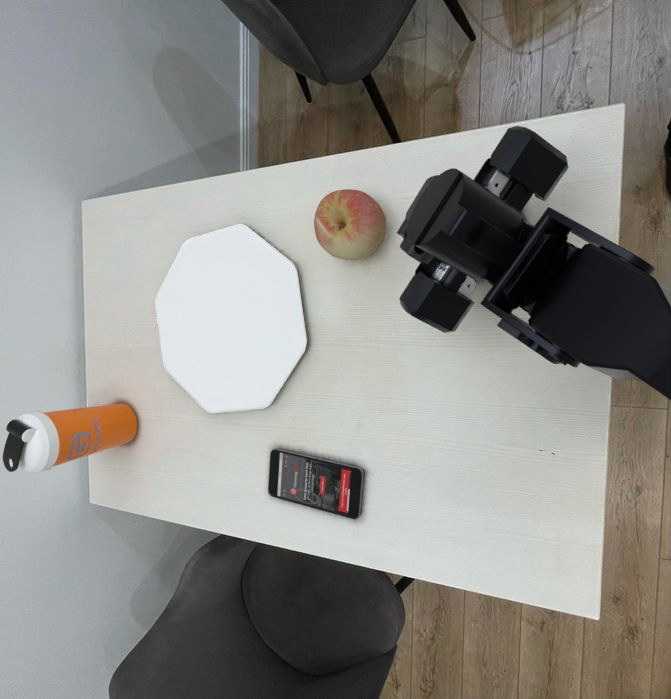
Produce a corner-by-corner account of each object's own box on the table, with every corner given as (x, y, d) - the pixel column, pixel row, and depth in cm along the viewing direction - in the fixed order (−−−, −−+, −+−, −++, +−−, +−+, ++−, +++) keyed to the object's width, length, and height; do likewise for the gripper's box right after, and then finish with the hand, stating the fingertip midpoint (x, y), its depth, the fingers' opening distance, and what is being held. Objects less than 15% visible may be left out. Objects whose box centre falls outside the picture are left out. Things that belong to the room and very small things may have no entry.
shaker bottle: (104, 441, 97) (-9, 469, 80) (107, 393, 96) (-7, 410, 79) (140, 453, 93) (29, 485, 76) (144, 403, 92) (32, 424, 75)
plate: (320, 402, 76) (315, 403, 75) (176, 416, 89) (169, 417, 88) (293, 210, 77) (287, 208, 75) (153, 251, 89) (146, 250, 88)
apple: (335, 199, 74) (305, 186, 67) (396, 195, 70) (371, 181, 63) (333, 263, 74) (303, 257, 67) (393, 263, 70) (368, 257, 63)
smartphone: (358, 520, 74) (267, 495, 80) (360, 519, 74) (270, 494, 81) (362, 469, 73) (270, 448, 80) (364, 467, 74) (273, 447, 80)
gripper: (516, 92, 37) (437, 87, 51) (375, 315, 43) (338, 257, 57) (620, 173, 42) (521, 149, 55) (479, 366, 47) (421, 301, 61)
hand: (447, 215), depth 57 cm, fingers closed on beverage can, 5 cm apart
